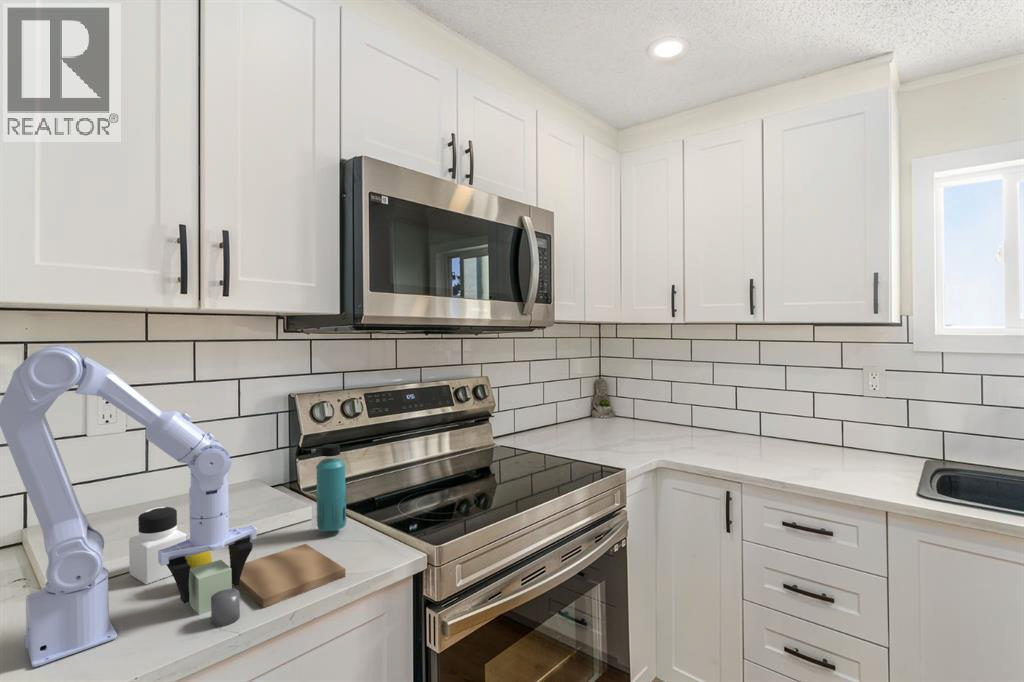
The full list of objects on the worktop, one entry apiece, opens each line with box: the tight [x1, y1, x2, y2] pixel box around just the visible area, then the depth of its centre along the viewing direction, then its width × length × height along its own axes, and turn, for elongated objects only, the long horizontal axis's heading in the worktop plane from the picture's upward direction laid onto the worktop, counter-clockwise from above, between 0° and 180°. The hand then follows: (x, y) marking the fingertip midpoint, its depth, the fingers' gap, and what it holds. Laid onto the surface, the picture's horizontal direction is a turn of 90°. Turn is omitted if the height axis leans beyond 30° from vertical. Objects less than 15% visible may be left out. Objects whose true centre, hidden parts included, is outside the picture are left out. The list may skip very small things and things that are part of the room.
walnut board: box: [238, 543, 346, 609], centre depth 99 cm, size 15×16×2 cm
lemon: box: [185, 551, 213, 569], centre depth 95 cm, size 6×6×8 cm
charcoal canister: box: [210, 588, 241, 628], centre depth 84 cm, size 4×4×4 cm
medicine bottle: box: [128, 506, 188, 585], centre depth 100 cm, size 7×7×12 cm
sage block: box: [188, 559, 233, 616], centre depth 89 cm, size 5×5×6 cm
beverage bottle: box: [315, 443, 348, 532], centre depth 119 cm, size 6×7×20 cm
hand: (210, 592), depth 89 cm, fingers open, 7 cm apart
